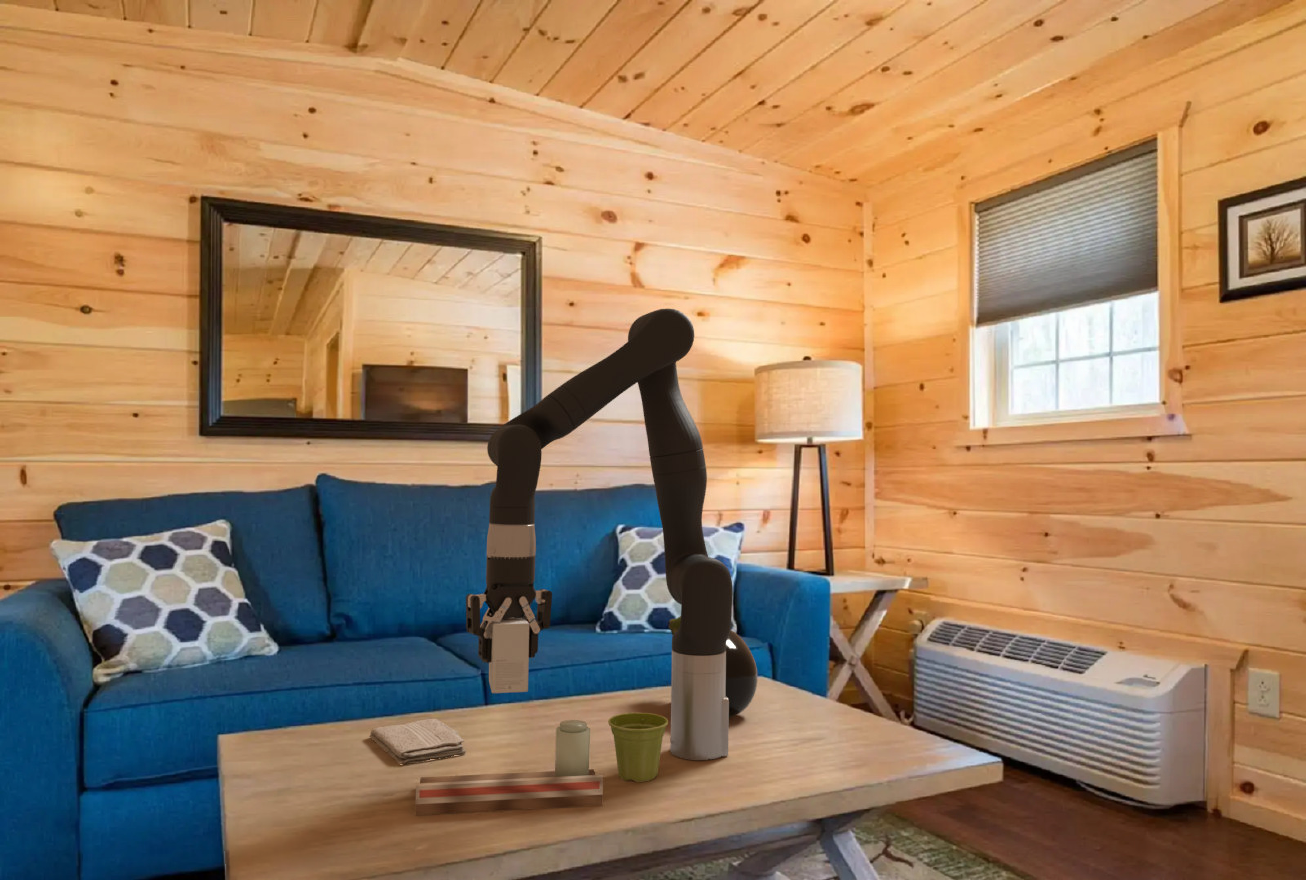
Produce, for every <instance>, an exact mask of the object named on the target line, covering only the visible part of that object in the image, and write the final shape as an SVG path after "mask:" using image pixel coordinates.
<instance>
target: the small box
mask: <svg viewBox="0 0 1306 880" xmlns="http://www.w3.org/2000/svg"><path fill="white" fill-rule="evenodd" d="M490 638H492V657H491V662H490V663H488V682H489V687H490V691H491V693H492V694H503V693H504V694H505V693H525V692H526V693H527V692H528V691H529V663H530V662H529V623H528V621H527V620H526V619H523V618H513V617H512V618H509V619H501V621H500V623H495V624H493V628H492V634H491V636H490Z"/></svg>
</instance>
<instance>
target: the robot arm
mask: <svg viewBox="0 0 1306 880" xmlns="http://www.w3.org/2000/svg"><path fill="white" fill-rule="evenodd" d="M694 341H695V329H694V325H693V323H692V321H691V320H690V318H689V317H688V316H687V315H686V314H685V313H684V312H682V311H680V310H678V309H674V308H660V309H656V310H653V311H650V312H647V313H645V314H643V315H641V316H639V317H638V318H636V319H635V320H633V323H632V324H631V326H630V328H629V330H628V335H627V342H626V343H624V344H622V346H620V347H619V348H618V349H617V350H616V351H614V352H612V353H611V354H610V355H608V356H607V357H604V359H602V360H600V361H598V362H596V363H595V364H593V365H591V366H590V367H587V368H586V369H584V370H583V371H581V372H579V373H578V374H576V375H574V376H573V377H570V379H568V380H566V381H565V382H563V383H562V384H560V386H558V387H556V388H555V389H554V390H553V391H551V392H550V393H548V394H547V395H546V396H544V397H543V398H542V399H541V400H540V401H539V402H538V403H536V404H535V405H534V406H532V407H531V408H529V409H527V410H525V411H523V412H522V413H519V415H517V416H515V417H513V418H512V419H510V420H508V421H507V422H505V423H504V424H502V425H501V426H500V427H498V428H497V429H495V431H494V432H493V433H492V434H491V436H490V437H489V439H488V441H487V450H486V451H487V455H488V457H489V459H490V461H491V462H492V463H493V465H495V466H496V469H497V470H496V481H495V486H494V488H493V489H492V490H491V494H490V498H489V517H488V518H489V519H488V522H489V524H488V531H487V538H486V568H485V569H486V570H485V583H486V585H485V586H486V587H485V590H484V592H483V593H479V594H473V593H469V594H467V595H466V596H465V614H466V615H465V619H466V623H465V624H466V625H465V627H466V632H467V633H469V634H472V635H474V636H477V638H478V649H477V651H478V654H477V656H478V658H479V659H481V661H482V663H485V664H489V663H490V662H491V657H492V638H490V636H491V634H492V628H493V624H495V623H500V621H501V619H509V618H512V617H513V618H523V619H526V620H527V621H528V623H529V658H531V659H532V658H535V656H536V654H538V652H539V634H540V632H541V631H543V630H544V629H547V630H548V629H550V628H551V617H552V602H553V593H552V591H550V590H548V589H544V588H540V589H539V590H535V587H534V583H535V579H536V578H535V577H536V576H535V574H536V551H537V547H536V544H537V543H536V541H537V539H536V529H535V519H536V515H535V514H536V492H537V491H536V489H537V487H538V481H539V476H540V471H541V464H542V454H543V453H542V450H543V449H544V448H545V447H547V445H549V444H551V443H552V442H555V441H557V440H560V439H563V438H564V437H566V436H568V435H569V434H570V433H572V432H573V431H575V430H577V429H578V428H579V427H580V426H581V425H583V424H584V423H586V422H587V421H588V420H589V419H590V418H592V417H593V416H594V415H595V414H597V413H599V412H600V411H601V410H602V409H604V408H605V407H606V406H607V405H609V403H611V402H613V401H614V400H615V399H616V398H618V397H619V396H620V395H621V394H624V392H625V391H627V390H628V389H630V388H631V387H633V386H634V385H636V384H637V386H638V389H639V393H640V398H641V404H642V405H641V406H642V411H643V412H642V413H643V421H644V425H645V431H646V433H645V434H646V439H647V445H648V447H647V448H648V454H649V461H650V467H651V472H652V479H653V484H654V488H655V493H656V494H655V495H656V500H657V507H658V512H659V517H660V523H661V527H662V528H661V529H662V534H663V535H662V536H663V549H664V567H665V582H666V587H667V590H668V593H669V594H670V596H671V598H672V599H673V600H674V601H675V602H676V603H678V604H679V605H680V608H681V609H680V616H681V622H680V627H679V629H678V630H677V631H676V632H674V634H673V635H671V685H670V687H671V689H670V690H671V693H670V695H671V696H670V697H671V698H670V738H669V739H670V749H669V750H670V753H671V755H674V756H675V757H677V758H681V759H684V760H692V761H708V759H710V760H715V759H718V758H721V756H722V757H728V756H729V727H730V726H729V724H730V723H729V721H730V720H729V718H730V717H729V699H728V698H727V697H726V696H725V687H726V642H727V639H728V637H729V634H730V630H732V614H733V610H732V609H733V593H734V591H733V589H734V588H733V580H732V575H731V573H730V570H729V569H728V567H727V566H726V565H725V563H723V562H722V561H721V560H718V559H716V558H713V557H710V556H709V554H708V551H707V547H706V546H707V545H706V542H705V536H704V532H703V509H704V503H705V499H706V498H705V497H706V492H707V491H706V490H707V483H708V480H707V479H708V478H707V477H708V475H707V466H706V465H707V464H706V459H705V453H704V452H705V451H704V446H703V441H702V437H701V434H700V432H699V430H698V429H699V428H698V427H697V425H696V423H695V420H694V418H693V417H692V415H691V413H690V411H689V409H688V407H687V405H686V402H685V401H684V398H683V396H682V393H681V389H680V384H679V378H678V372H677V371H678V370H677V362H679V361H680V360H682V359H683V358H684V357H686V356H687V355H688V354H689V352H690V351H691V349H692V347H693V345H694ZM534 600H535V603H537V606H536V607H537V608H536V616H535V614H534V612H533V610H532V608H531V605H532V603H534V602H533V601H534ZM484 602H485V604H486V605H487V606H488V608H487V610H486V612H485V613H484V615H483V617H482V622H481V609H482V608H483V605H484ZM727 755H728V756H727Z"/></svg>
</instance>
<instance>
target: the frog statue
mask: <svg viewBox="0 0 1306 880" xmlns="http://www.w3.org/2000/svg"><path fill="white" fill-rule="evenodd" d="M680 622H681V615H680V616H678V617H677V618H672V619H670V620H669V621H668V622H667V626H668V629H669V630H670V633H671V636H673V634H674V632H676V631H677V630H678V629H679V627H680ZM758 679H759V678H758V668H757V665H756V660H755V657H754V656H753V654H752V651H751V650H750V648H749V645H747V643H746V642H745V640H743V638H742V637H741V636H740V635H738V633H736V632H735V631H734V630H732V629H731V630H730V634H729V637H728V639H727V642H726V687H725V696H726V697H727V698H728V699H729V718H732V717H736V716H737V715H740V713H742V712H744V711H745V710H746V709H747V708H748V707H749V705H750V704H751V703H752V701H753V699H754V697H755V694H756V691H757V687H758Z"/></svg>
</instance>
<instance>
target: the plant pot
mask: <svg viewBox="0 0 1306 880" xmlns="http://www.w3.org/2000/svg"><path fill="white" fill-rule="evenodd" d="M607 723H608V725H609V726H610V729H611V734H612V735H613V742H614V747H615V750H614V751H615V758H616V765H617V773H618V776H619V778H620V779H622V780H623V781H628V780H629V781H630V780H631V781H634V782H637V783H642V782H648V781H653V780H654V779H655V778H656V776H658V775H659V774H658V773H659V767H660V759H661V751H662V745H663V744H662V742H663V737H664V734H665V732H666V727H667V726H668V725H669V720H668V718H667V717H666V716H663V715H660V714H656V713H650V712H626V713H625V712H624V713H620V714H616V715H613V716H611V717H610V718H608V720H607Z"/></svg>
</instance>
